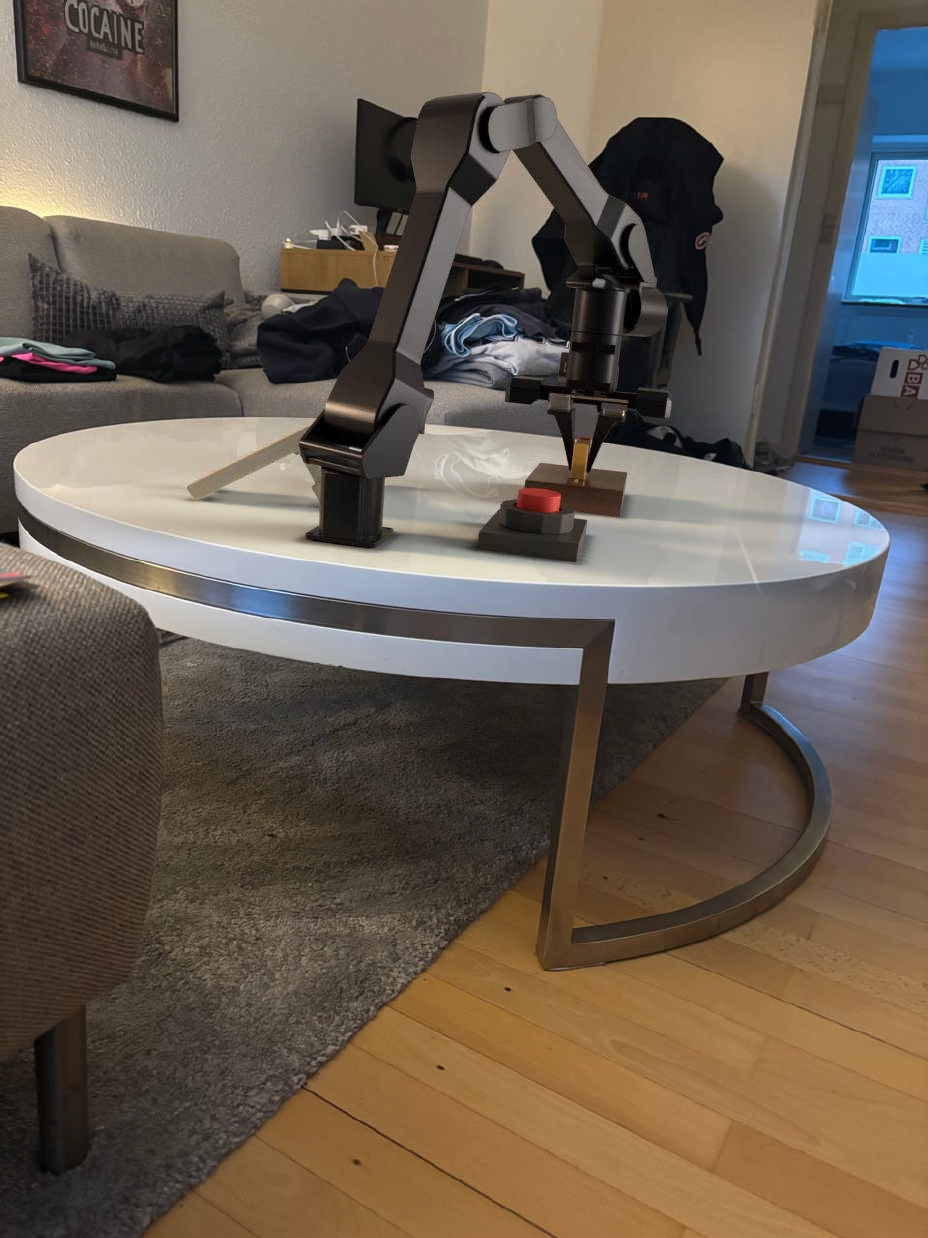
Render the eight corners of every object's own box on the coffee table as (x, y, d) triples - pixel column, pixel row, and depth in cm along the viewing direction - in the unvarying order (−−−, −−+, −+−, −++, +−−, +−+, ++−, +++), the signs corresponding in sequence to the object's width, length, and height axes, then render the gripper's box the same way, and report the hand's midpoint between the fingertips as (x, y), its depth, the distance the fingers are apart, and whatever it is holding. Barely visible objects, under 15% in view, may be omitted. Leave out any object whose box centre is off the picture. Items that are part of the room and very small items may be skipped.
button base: (576, 562, 81) (581, 524, 80) (477, 549, 83) (480, 511, 82) (585, 536, 92) (589, 501, 90) (497, 525, 93) (500, 491, 92)
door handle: (225, 557, 94) (397, 475, 90) (185, 486, 92) (360, 400, 88) (269, 517, 111) (416, 447, 107) (236, 456, 108) (385, 382, 105)
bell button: (556, 517, 84) (558, 498, 83) (513, 512, 85) (515, 493, 84) (560, 509, 88) (562, 491, 87) (519, 504, 88) (521, 486, 88)
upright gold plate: (583, 480, 105) (588, 443, 104) (570, 478, 106) (574, 441, 104) (587, 472, 111) (592, 437, 110) (574, 470, 111) (578, 435, 110)
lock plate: (620, 517, 102) (623, 489, 101) (522, 505, 104) (525, 478, 103) (624, 496, 115) (627, 470, 114) (537, 485, 117) (540, 461, 116)
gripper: (678, 340, 109) (659, 470, 114) (524, 326, 112) (511, 453, 117) (681, 341, 99) (659, 484, 104) (510, 326, 102) (497, 466, 107)
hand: (579, 471), depth 108 cm, fingers closed on upright gold plate, 2 cm apart
